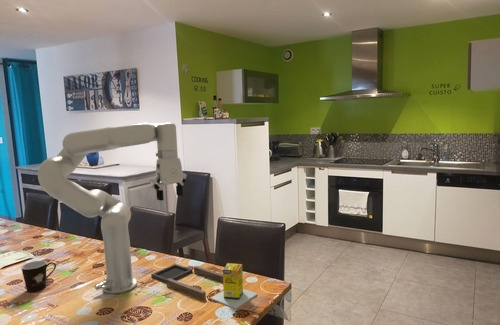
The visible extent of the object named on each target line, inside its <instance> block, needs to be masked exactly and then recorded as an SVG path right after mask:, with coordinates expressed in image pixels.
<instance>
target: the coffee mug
mask: <svg viewBox="0 0 500 325" xmlns="http://www.w3.org/2000/svg"><path fill="white" fill-rule="evenodd" d="M49 265H53V266H54V267H53V269H52V270H51V272H49V274H48V275H47V268H48V267H49ZM20 268H21V269H20V270H21V274H22V276H23V280H24V283H25V284H24V285H25V288H26V293H29V294H33V293H39V292H41V290H42V291H43V290H45V289H46V287H47V279H48V278H49V277H50V276H51V275H52V274H53V273H54V271H55V270H56V268H57V264H56V263H55V262H52V261H51V262H48V263H47V261H46V260H33V261H30V262H27V263H25V264H23V265H21V266H20Z"/></svg>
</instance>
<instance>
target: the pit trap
mask: <svg viewBox="0 0 500 325" xmlns="http://www.w3.org/2000/svg"><path fill="white" fill-rule="evenodd" d="M192 273H193V269H192V268H189V267H187V266H183V265H180V264H177V263H175V264H174V263H173V264H172V265H170V266H167V267H165V268H163V269H160V270H158V271H156V272H153V273H151V278H153V279H156V280H158V281H161V282H163V283H165V284H167V279H169V278H170V279H173V280H176V281H178V280H179V279H181V278H184V277H185V276H187V275H190V274H192Z"/></svg>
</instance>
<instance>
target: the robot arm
mask: <svg viewBox="0 0 500 325" xmlns="http://www.w3.org/2000/svg"><path fill="white" fill-rule="evenodd" d="M177 137H178V136H177V126H176V124H175V123H174V122H163V123H162V122H161V123H150V122H149V123H148V122H143V123H137V124H129V125H122V126H115V127H114V126H113V127H112V126H110V127H109V126H108V127H107V126H106V127H102V128H101V127H100V128H96V129H88V130H82V131H74V132H70V133H68V134H66V135H65V136H64V137H63V139H62V149H61V150H60V151H59V153H58V154H57V155H56V156H52V157H49V158H47V159H45V160H43V161H42V162H41V163H40V165H39V167H38V171H37V180H38V183H39V186H40V187H41V188H42V189H43V191H44V192H46V193H47V194H48V195H50V197H52V198H54V199H56V200H58V201H59V202H61V203H63V204H65V205H66V206H67V207H68V208H70V209H72V210H74V211H75V212H77V213H78V214H81V215H82V216H84V217H86V218H96V217H97V216H99V217H101V221H100V228H101V234H102V240H103V242H102V243H103V249H104V260H105V274H106V277H105V278H103V279H104V280H103V281H102V282H101V283H97V284H95V285H94V289H95V291H99V290H100V289H101V290H102V291H104V293H107V294H110V295H111V294H113V295H115V294H122V293H126V292H129V291H131V290H133V289H134V288H135V287H136V286H137V285H138V280H137V278H135V277H133V268H132V254H131V242H130V233H129V222H130V220H131V219H132V218H131V217H132V212H131V208H130V207H129V206H128V205H127V204H126V203H124V202H122V201H121V200H119V199H117V198H116V197H114V196H112V195H111V194H109V193H108V192H106V191H104V190H101V189H93V188H92V189H89V190H88V189H87V188H84V187H83V186H81V185H80V184H78V183H76V182H74V181H72V180H71V179H68V178H67V177H68V176H69V175H71V174H72V173H73V172H74V171H76V169H77V167H79V165H80V163H81V162H82V161H83V160H84V159H85V158H86V156H87V155H88V154H93V153H98V152H105V151H111V150H113V151H114V150H116V149H119V148H126V147H133V146H138V145H145V144H149V143H152V142H156V143H157V144H156V146H157V147H156V148H157V153H156V152H155V156H156V157H157V159H156V163H155V175H154V176H153V177H152V178H151V179H149V182H150V184H151V186H152V188H153V189H154V190H155V192H156V200H157V201H164V198H165V197H164V190H163V188H164V186H168V185H173V184H176V186H175V189H176V193H175V194H176V196H178V197H180V196H181V197H184V191H183V188H184V187H183V186H184V184H185V182H186V179H187V176H188V174H187V173H185V172H183V167H182V162H181V159H180V157H178V138H177Z"/></svg>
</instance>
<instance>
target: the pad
mask: <svg viewBox="0 0 500 325" xmlns="http://www.w3.org/2000/svg"><path fill="white" fill-rule="evenodd" d="M256 296H258V293H256V292H253V291H251V290H247V289H245V288H243V293H242V295H241V297H240V299H239V300H237V299H225V298H224V289H223V290H222V291H219V293H217V294H214V296H211V297H210V300H212V301H214V302H217V303H219V304H222V305H224V306H227V307H230V308H233V309H234V310H237V309H238V308H240V307H241V306H243V305H245V304H246V303H248V302H249V301H251V300H252V299H253V298H255V297H256Z"/></svg>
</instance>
